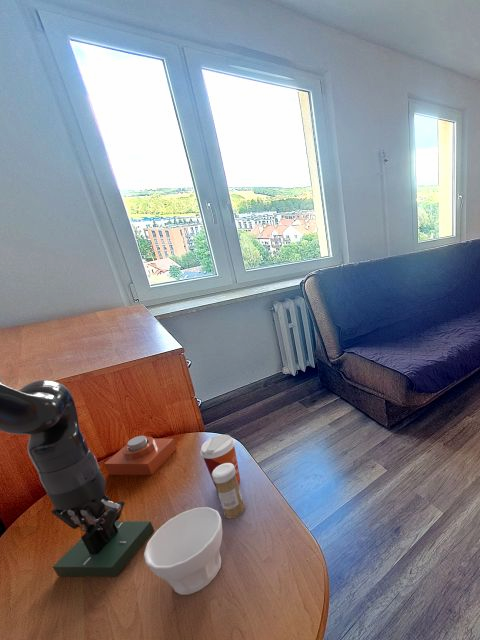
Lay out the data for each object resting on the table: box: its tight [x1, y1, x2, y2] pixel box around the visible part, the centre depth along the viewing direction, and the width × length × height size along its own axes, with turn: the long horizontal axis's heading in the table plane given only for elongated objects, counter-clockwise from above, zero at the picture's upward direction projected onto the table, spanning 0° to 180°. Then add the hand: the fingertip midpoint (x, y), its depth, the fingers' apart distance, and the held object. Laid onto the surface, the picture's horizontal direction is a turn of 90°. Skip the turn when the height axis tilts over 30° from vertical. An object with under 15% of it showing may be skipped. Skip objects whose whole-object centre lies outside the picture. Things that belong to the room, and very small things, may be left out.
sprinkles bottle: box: [211, 463, 246, 520], centre depth 79 cm, size 5×5×13 cm
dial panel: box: [52, 520, 155, 578], centre depth 72 cm, size 12×10×3 cm
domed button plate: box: [103, 436, 178, 476], centre depth 95 cm, size 12×10×6 cm
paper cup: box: [199, 433, 241, 491], centre depth 87 cm, size 8×8×14 cm
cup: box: [143, 507, 223, 596], centre depth 67 cm, size 12×12×11 cm
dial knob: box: [80, 518, 118, 554], centre depth 70 cm, size 5×2×5 cm, turn 179°
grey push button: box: [126, 435, 148, 451], centre depth 94 cm, size 4×4×2 cm
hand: (103, 538), depth 71 cm, fingers closed on dial knob
